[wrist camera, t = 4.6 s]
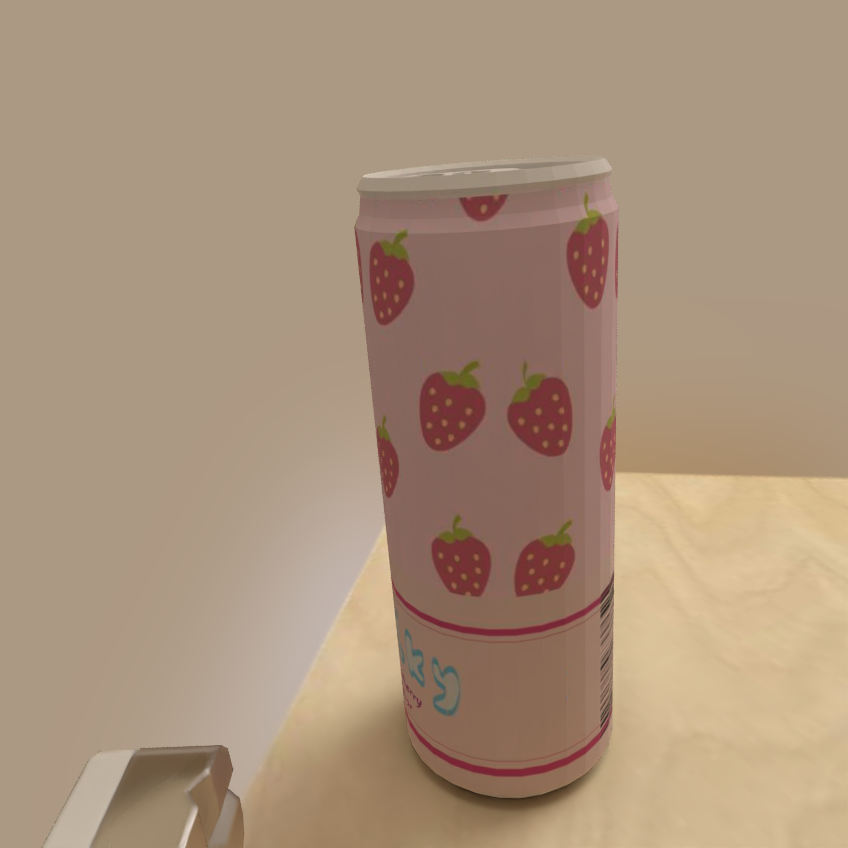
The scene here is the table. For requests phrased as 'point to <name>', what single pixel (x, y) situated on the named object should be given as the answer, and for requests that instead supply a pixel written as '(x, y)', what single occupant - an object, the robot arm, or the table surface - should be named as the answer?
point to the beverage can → (497, 458)
